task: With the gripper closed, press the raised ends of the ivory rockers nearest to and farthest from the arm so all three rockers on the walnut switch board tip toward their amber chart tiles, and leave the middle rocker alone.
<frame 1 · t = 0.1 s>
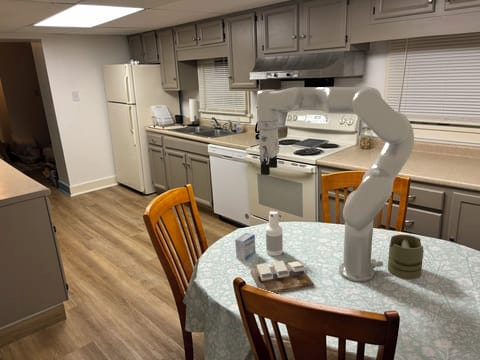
hand: (269, 171, 137), 37 cm above the table, tool pointing down, fingers open, 9 cm apart
medicine box: (246, 256, 152), on the table
rocker middle: (280, 268, 133), point 4 cm above the table, hinge at -12.0°
switch board: (280, 279, 134), on the table
spray bottle: (274, 252, 154), on the table
rocker near: (296, 266, 134), point 4 cm above the table, hinge at 12.0°
piston: (404, 271, 135), on the table
rocker far: (264, 271, 132), point 4 cm above the table, hinge at -12.0°
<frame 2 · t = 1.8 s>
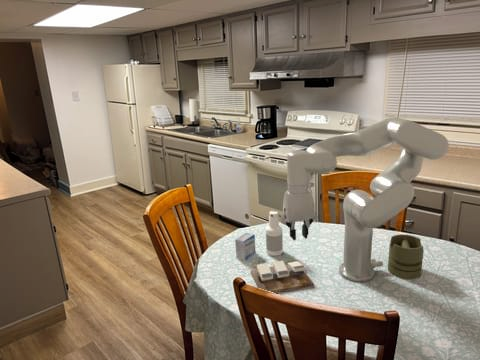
hand: (299, 237, 127), 17 cm above the table, tool pointing down, fingers open, 3 cm apart
nothing on the table moved.
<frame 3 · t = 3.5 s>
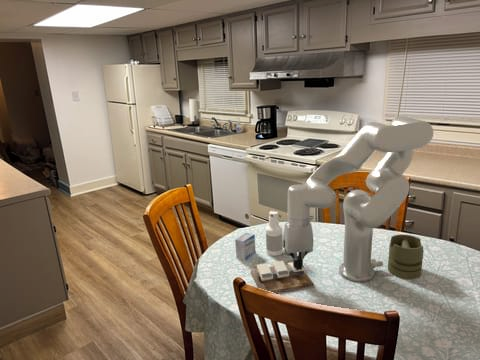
hand: (297, 267, 131), 5 cm above the table, tool pointing down, fingers closed
rocker near: (296, 266, 134), point 4 cm above the table, hinge at 11.9°, touching gripper
everything else where it was.
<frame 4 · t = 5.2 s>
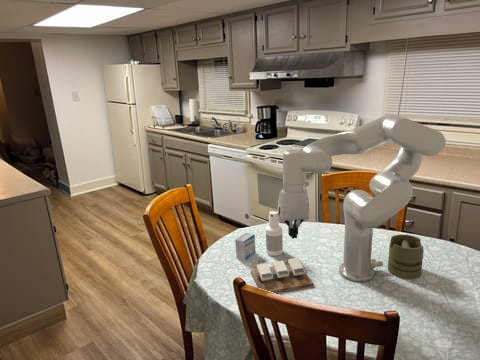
hand: (293, 236, 128), 17 cm above the table, tool pointing down, fingers closed
rocker near: (296, 266, 134), point 4 cm above the table, hinge at -16.7°
everything else where it was.
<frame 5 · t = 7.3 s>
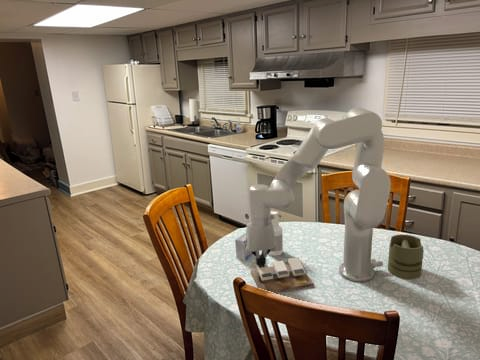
hand: (261, 265, 134), 5 cm above the table, tool pointing down, fingers closed
rocker near: (296, 266, 134), point 4 cm above the table, hinge at -23.8°, touching switch board
rocker far: (264, 271, 132), point 4 cm above the table, hinge at -10.4°, touching gripper
everything else where it was.
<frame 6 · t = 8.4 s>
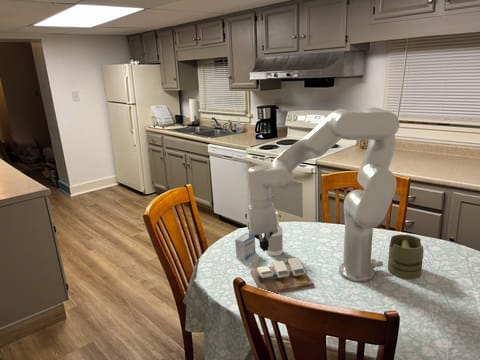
hand: (264, 249, 132), 12 cm above the table, tool pointing down, fingers closed
rocker near: (296, 266, 134), point 4 cm above the table, hinge at -22.6°
rocker far: (264, 271, 132), point 4 cm above the table, hinge at 10.4°
everything else where it was.
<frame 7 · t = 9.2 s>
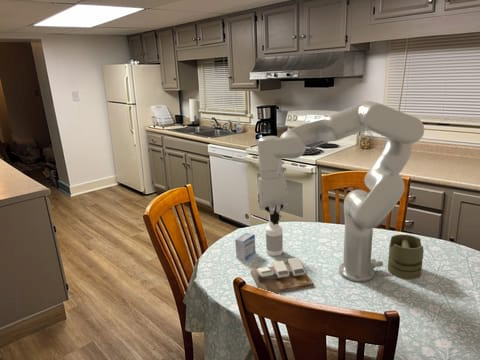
hand: (274, 222, 129), 22 cm above the table, tool pointing down, fingers closed
rocker near: (296, 266, 134), point 4 cm above the table, hinge at -22.1°
rocker far: (264, 271, 132), point 4 cm above the table, hinge at 16.5°
everything else where it was.
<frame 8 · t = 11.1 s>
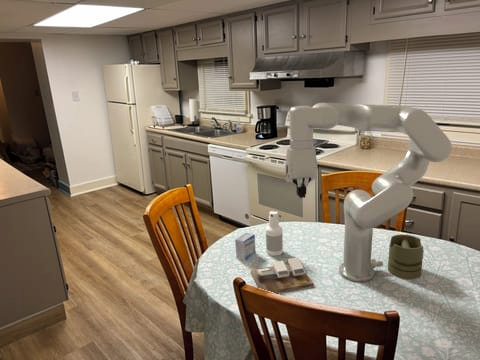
hand: (301, 196, 126), 31 cm above the table, tool pointing down, fingers closed
rocker near: (296, 266, 134), point 4 cm above the table, hinge at -21.5°
rocker far: (264, 271, 132), point 4 cm above the table, hinge at 23.7°, touching switch board
everything else where it was.
at the end: rocker near at -22° (first picture: +12°); rocker middle at -12° (first picture: -12°); rocker far at +24° (first picture: -12°) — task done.
